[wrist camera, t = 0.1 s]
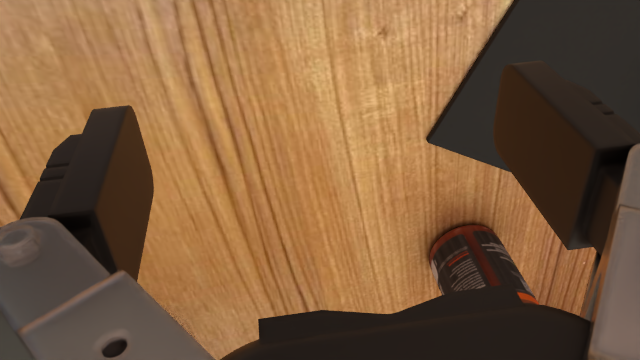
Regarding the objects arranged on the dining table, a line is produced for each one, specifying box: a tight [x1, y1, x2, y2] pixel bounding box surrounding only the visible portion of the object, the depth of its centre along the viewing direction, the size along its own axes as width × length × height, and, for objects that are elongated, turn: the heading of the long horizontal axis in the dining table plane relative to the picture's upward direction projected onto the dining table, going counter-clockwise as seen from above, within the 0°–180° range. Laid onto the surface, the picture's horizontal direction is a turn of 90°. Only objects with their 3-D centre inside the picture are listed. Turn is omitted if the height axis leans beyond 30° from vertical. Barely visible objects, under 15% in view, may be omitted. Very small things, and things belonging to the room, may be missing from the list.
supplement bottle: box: [429, 225, 539, 304], centre depth 40 cm, size 6×6×11 cm
